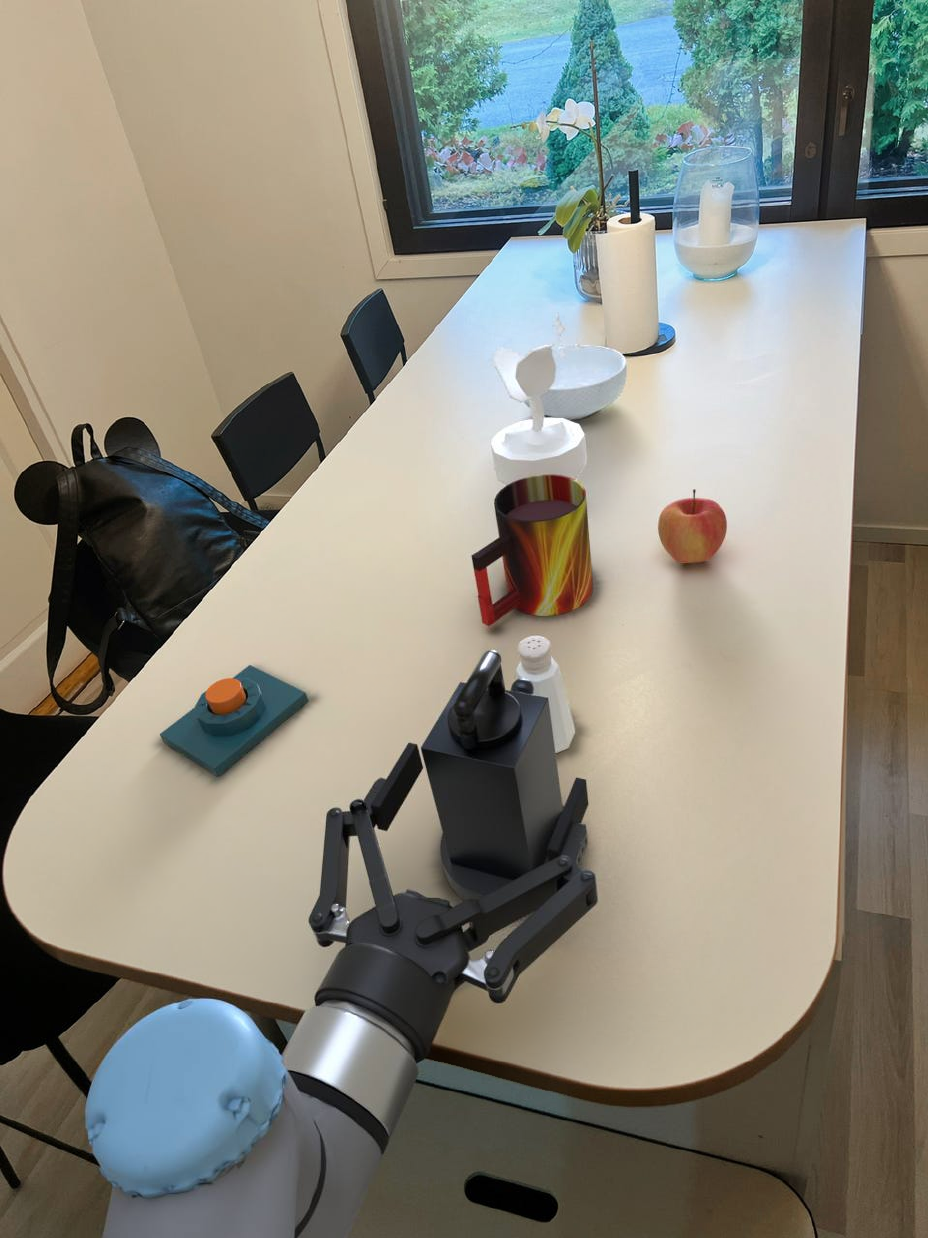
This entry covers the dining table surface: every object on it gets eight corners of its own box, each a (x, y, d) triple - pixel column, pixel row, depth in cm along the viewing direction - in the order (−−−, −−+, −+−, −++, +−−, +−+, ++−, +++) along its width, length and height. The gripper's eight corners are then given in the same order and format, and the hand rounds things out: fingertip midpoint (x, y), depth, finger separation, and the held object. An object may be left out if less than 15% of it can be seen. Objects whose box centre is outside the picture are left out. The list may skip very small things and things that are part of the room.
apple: (656, 576, 97) (655, 515, 92) (661, 540, 103) (659, 480, 98) (725, 577, 95) (727, 514, 90) (726, 540, 101) (728, 479, 96)
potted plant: (607, 511, 110) (594, 312, 94) (523, 540, 107) (497, 342, 92) (561, 472, 119) (543, 286, 104) (483, 498, 117) (453, 312, 102)
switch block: (218, 777, 83) (207, 755, 81) (163, 742, 88) (152, 721, 86) (308, 700, 90) (301, 679, 88) (253, 672, 95) (244, 651, 93)
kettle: (534, 885, 66) (505, 720, 55) (450, 863, 68) (408, 701, 58) (578, 778, 73) (560, 615, 63) (501, 762, 76) (472, 603, 65)
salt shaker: (516, 718, 83) (501, 628, 76) (573, 712, 82) (563, 621, 76) (518, 760, 79) (502, 668, 72) (578, 754, 78) (568, 661, 71)
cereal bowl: (638, 423, 127) (636, 377, 123) (525, 441, 128) (519, 396, 124) (617, 378, 141) (615, 335, 136) (515, 395, 142) (509, 353, 137)
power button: (226, 720, 85) (220, 707, 84) (203, 707, 87) (197, 695, 86) (253, 698, 87) (248, 685, 86) (231, 686, 89) (225, 673, 88)
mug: (482, 634, 94) (465, 541, 86) (522, 561, 103) (510, 472, 96) (569, 645, 90) (559, 548, 83) (602, 568, 100) (596, 476, 93)
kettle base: (491, 941, 65) (487, 925, 64) (420, 845, 73) (415, 830, 72) (607, 865, 68) (606, 849, 67) (528, 782, 76) (525, 766, 75)
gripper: (216, 1004, 58) (364, 773, 73) (573, 1140, 49) (661, 841, 63) (177, 941, 54) (343, 708, 69) (562, 1077, 44) (659, 771, 59)
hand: (496, 771), depth 66 cm, fingers open, 13 cm apart
